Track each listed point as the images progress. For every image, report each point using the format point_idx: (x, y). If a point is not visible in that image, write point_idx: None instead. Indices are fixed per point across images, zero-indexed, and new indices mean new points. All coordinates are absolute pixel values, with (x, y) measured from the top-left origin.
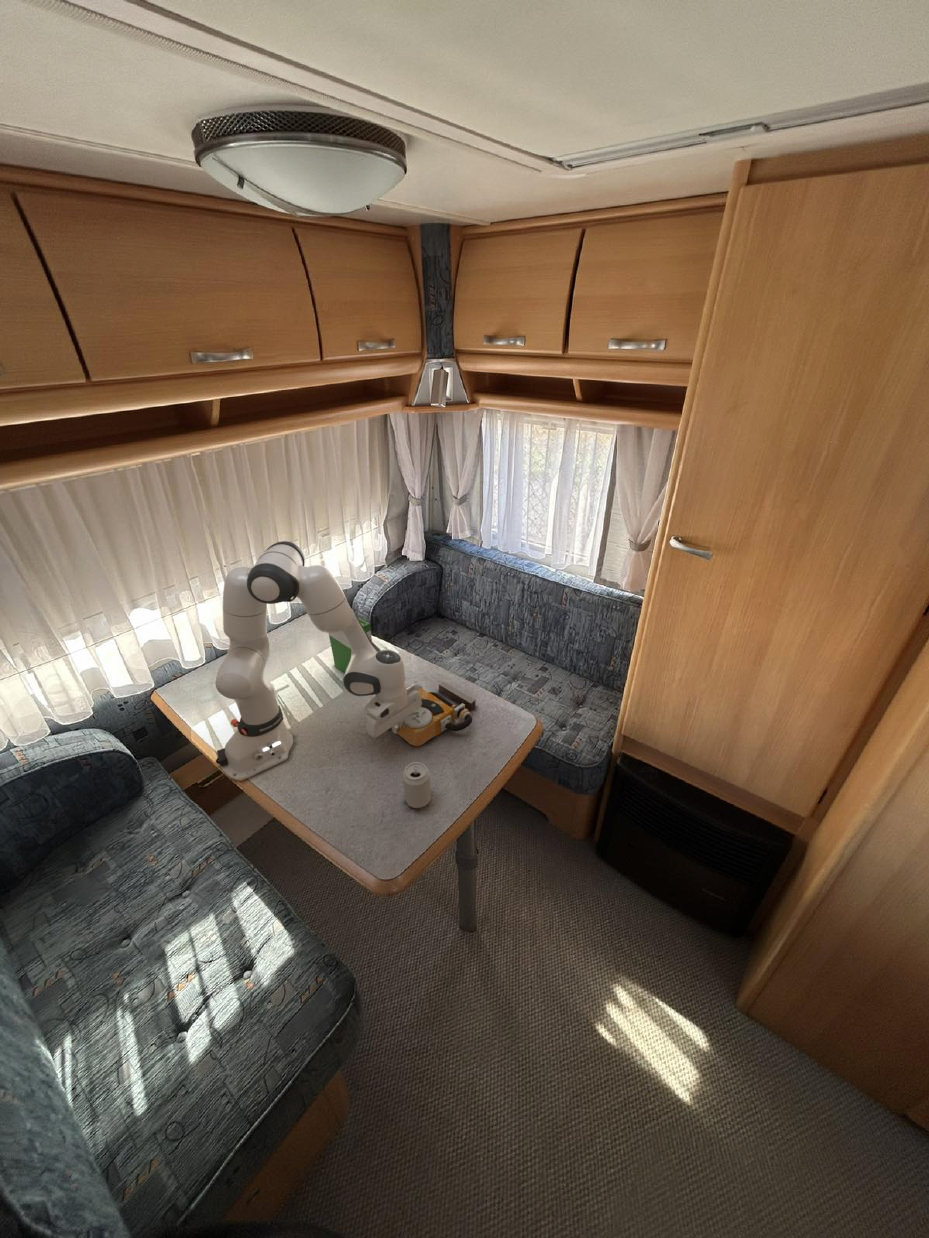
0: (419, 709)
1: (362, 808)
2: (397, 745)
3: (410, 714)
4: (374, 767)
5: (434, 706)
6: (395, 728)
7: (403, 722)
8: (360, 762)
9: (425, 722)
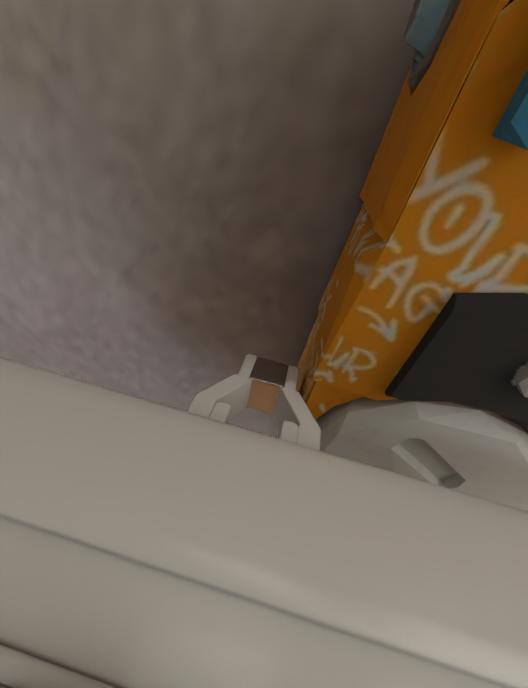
0: (503, 485)
1: (19, 362)
2: (268, 323)
3: (423, 440)
4: (118, 306)
5: None
6: (231, 414)
7: (331, 409)
8: (81, 231)
9: None
